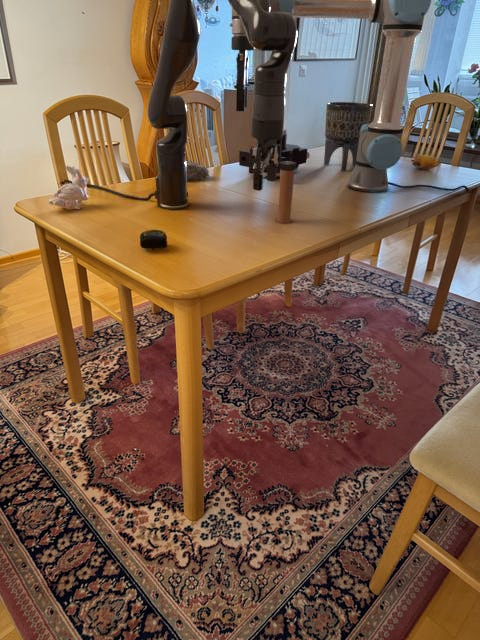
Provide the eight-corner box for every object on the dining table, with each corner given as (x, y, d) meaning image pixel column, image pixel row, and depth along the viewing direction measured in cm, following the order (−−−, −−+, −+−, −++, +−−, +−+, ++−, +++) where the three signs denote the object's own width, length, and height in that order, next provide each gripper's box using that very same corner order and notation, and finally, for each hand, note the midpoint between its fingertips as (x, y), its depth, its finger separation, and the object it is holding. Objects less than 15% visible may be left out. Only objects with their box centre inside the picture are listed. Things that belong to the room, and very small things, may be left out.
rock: (201, 174, 190) (201, 158, 187) (214, 178, 185) (214, 162, 181) (174, 179, 183) (173, 162, 179) (187, 183, 177) (186, 166, 174)
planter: (313, 167, 208) (319, 103, 195) (331, 160, 222) (338, 101, 209) (353, 173, 199) (362, 107, 185) (369, 166, 213) (379, 104, 199)
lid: (296, 167, 133) (296, 161, 132) (294, 170, 129) (295, 164, 128) (280, 166, 134) (280, 160, 133) (278, 169, 130) (279, 163, 129)
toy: (413, 162, 205) (407, 155, 217) (415, 176, 208) (410, 168, 220) (439, 154, 201) (432, 147, 214) (441, 168, 204) (434, 161, 217)
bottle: (291, 219, 141) (295, 163, 132) (289, 223, 137) (294, 166, 129) (278, 218, 142) (281, 162, 133) (276, 222, 138) (280, 165, 130)
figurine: (98, 204, 150) (92, 164, 144) (60, 215, 140) (52, 173, 133) (82, 200, 154) (76, 161, 148) (43, 210, 143) (35, 169, 137)
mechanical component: (240, 120, 182) (283, 115, 202) (239, 174, 192) (280, 164, 212) (283, 126, 170) (325, 120, 190) (280, 183, 180) (320, 171, 200)
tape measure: (140, 252, 115) (139, 238, 113) (141, 242, 120) (140, 229, 119) (167, 251, 116) (166, 237, 114) (167, 241, 121) (166, 228, 120)
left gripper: (265, 109, 112) (262, 176, 121) (240, 118, 101) (238, 190, 110) (294, 112, 109) (288, 180, 118) (271, 122, 98) (266, 195, 107)
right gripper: (234, 37, 155) (234, 105, 166) (227, 34, 134) (227, 112, 144) (256, 37, 155) (254, 106, 165) (253, 34, 133) (250, 113, 144)
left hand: (264, 185), depth 114 cm, fingers open, 8 cm apart
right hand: (241, 109), depth 155 cm, fingers open, 13 cm apart
